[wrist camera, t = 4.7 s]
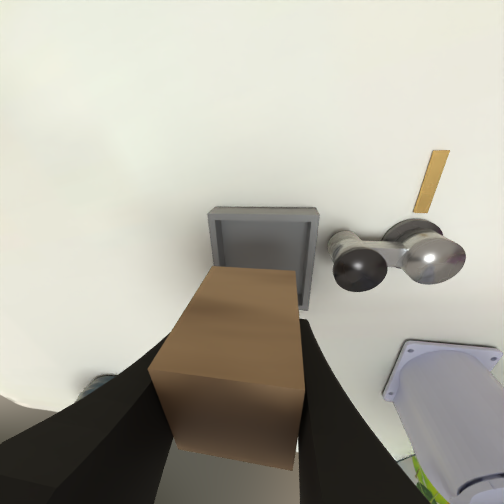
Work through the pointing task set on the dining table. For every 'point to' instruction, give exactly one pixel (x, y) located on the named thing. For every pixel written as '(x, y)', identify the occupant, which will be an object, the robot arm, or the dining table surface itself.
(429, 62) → the dining table surface
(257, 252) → the tray
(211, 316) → the block
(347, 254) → the crank lever
